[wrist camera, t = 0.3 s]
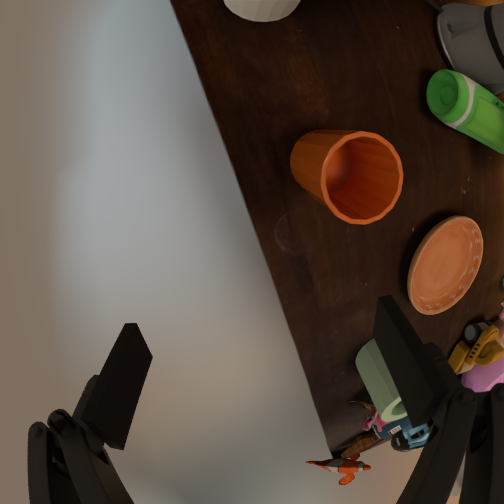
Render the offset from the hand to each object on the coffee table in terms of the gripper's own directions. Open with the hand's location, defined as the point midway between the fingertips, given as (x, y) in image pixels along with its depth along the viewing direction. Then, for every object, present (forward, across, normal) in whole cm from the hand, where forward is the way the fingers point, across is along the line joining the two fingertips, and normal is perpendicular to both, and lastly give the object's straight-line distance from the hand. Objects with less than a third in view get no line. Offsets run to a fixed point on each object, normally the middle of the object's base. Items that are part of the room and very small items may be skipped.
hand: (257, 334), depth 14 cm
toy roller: (+22, +44, -34) cm, 59 cm away
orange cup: (+19, +8, +6) cm, 21 cm away
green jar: (+19, +18, -26) cm, 38 cm away
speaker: (+15, +33, +16) cm, 39 cm away
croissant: (+15, +22, -63) cm, 69 cm away
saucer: (+20, +27, -10) cm, 35 cm away
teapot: (+22, +54, -45) cm, 74 cm away
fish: (+13, +13, -66) cm, 68 cm away
